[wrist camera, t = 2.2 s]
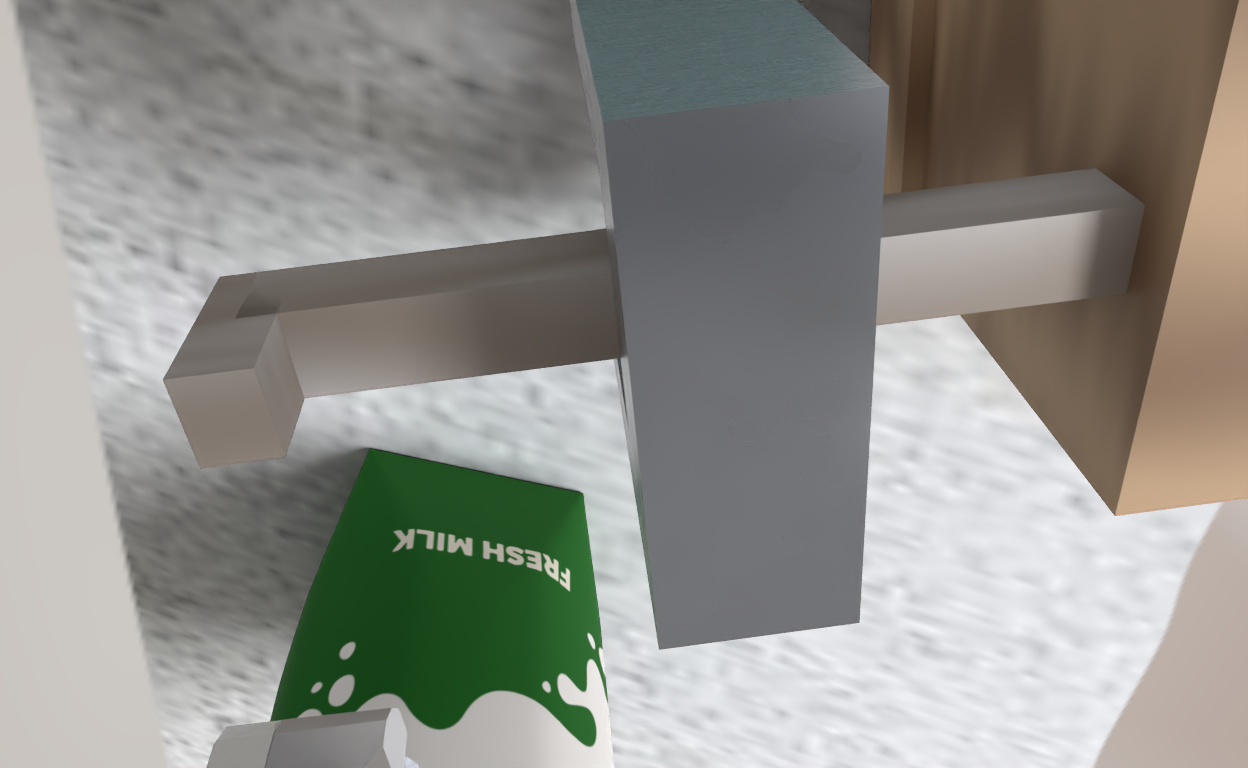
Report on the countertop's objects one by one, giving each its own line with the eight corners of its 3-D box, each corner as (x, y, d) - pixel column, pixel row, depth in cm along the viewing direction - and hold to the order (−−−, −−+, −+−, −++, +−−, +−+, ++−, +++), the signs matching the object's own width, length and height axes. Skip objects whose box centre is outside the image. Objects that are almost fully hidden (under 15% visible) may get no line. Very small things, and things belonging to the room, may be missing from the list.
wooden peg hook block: (264, -158, 21) (-16, -45, 10) (1147, -258, 22) (1814, -256, 11) (388, 320, 28) (302, 709, 17) (1064, 235, 29) (1421, 558, 17)
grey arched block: (562, -60, 19) (602, 120, 10) (713, -78, 19) (889, 86, 10) (604, 298, 24) (659, 649, 15) (727, 282, 24) (858, 623, 15)
